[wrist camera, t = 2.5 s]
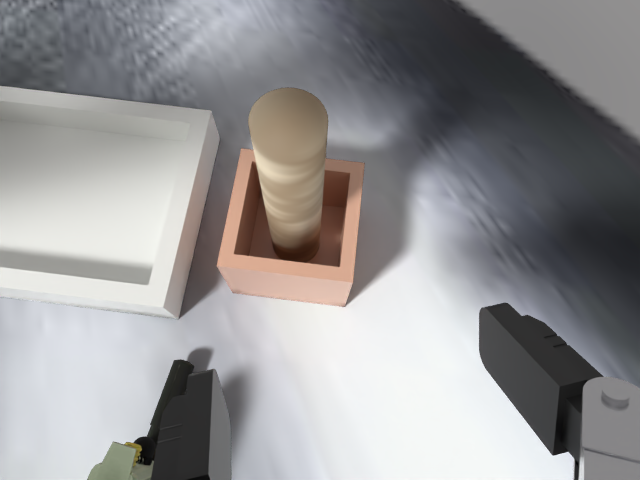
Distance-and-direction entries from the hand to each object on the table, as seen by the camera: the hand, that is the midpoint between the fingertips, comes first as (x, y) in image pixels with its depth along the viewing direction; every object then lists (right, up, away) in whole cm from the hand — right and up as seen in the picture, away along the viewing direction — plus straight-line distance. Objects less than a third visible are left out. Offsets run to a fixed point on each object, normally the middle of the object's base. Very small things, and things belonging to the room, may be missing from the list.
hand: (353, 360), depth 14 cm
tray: (-19, +6, +20) cm, 28 cm away
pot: (-3, +3, +19) cm, 19 cm away
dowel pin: (-3, +3, +18) cm, 19 cm away
